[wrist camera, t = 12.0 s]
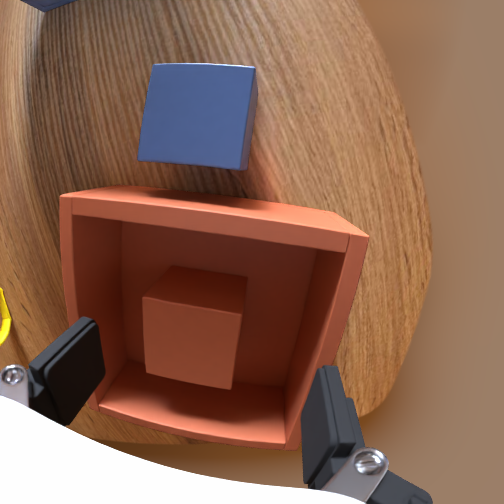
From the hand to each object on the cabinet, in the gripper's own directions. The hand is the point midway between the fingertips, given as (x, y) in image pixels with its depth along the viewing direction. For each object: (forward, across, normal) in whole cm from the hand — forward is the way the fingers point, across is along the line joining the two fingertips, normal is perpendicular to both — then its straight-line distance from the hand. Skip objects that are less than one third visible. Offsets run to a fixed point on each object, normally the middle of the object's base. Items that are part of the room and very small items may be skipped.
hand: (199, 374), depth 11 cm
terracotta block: (+6, +1, 0) cm, 6 cm away
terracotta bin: (+7, +1, 0) cm, 7 cm away
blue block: (+7, +2, -10) cm, 12 cm away
